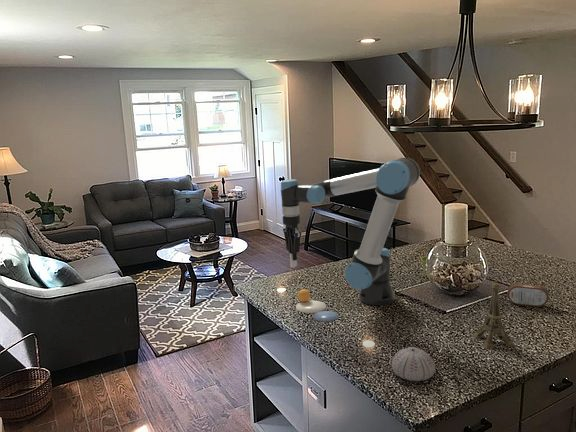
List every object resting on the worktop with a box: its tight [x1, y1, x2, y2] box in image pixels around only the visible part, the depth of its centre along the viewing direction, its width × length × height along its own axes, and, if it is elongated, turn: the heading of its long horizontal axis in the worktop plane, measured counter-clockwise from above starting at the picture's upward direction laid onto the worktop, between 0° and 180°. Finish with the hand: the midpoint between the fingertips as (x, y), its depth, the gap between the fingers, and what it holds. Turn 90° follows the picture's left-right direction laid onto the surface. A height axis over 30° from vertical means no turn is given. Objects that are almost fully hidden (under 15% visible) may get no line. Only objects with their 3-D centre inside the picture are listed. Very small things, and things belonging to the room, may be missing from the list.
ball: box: [297, 288, 311, 302], centre depth 208 cm, size 6×6×6 cm
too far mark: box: [313, 310, 339, 323], centre depth 192 cm, size 10×10×1 cm
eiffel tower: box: [471, 278, 517, 350], centre depth 163 cm, size 11×11×25 cm
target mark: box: [295, 300, 327, 314], centre depth 203 cm, size 13×13×1 cm
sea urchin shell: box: [390, 346, 436, 382], centre depth 147 cm, size 13×14×8 cm
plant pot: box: [420, 255, 428, 277], centre depth 231 cm, size 9×9×9 cm
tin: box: [506, 283, 549, 307], centre depth 192 cm, size 15×3×8 cm, turn 65°
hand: (293, 266), depth 212 cm, fingers closed
